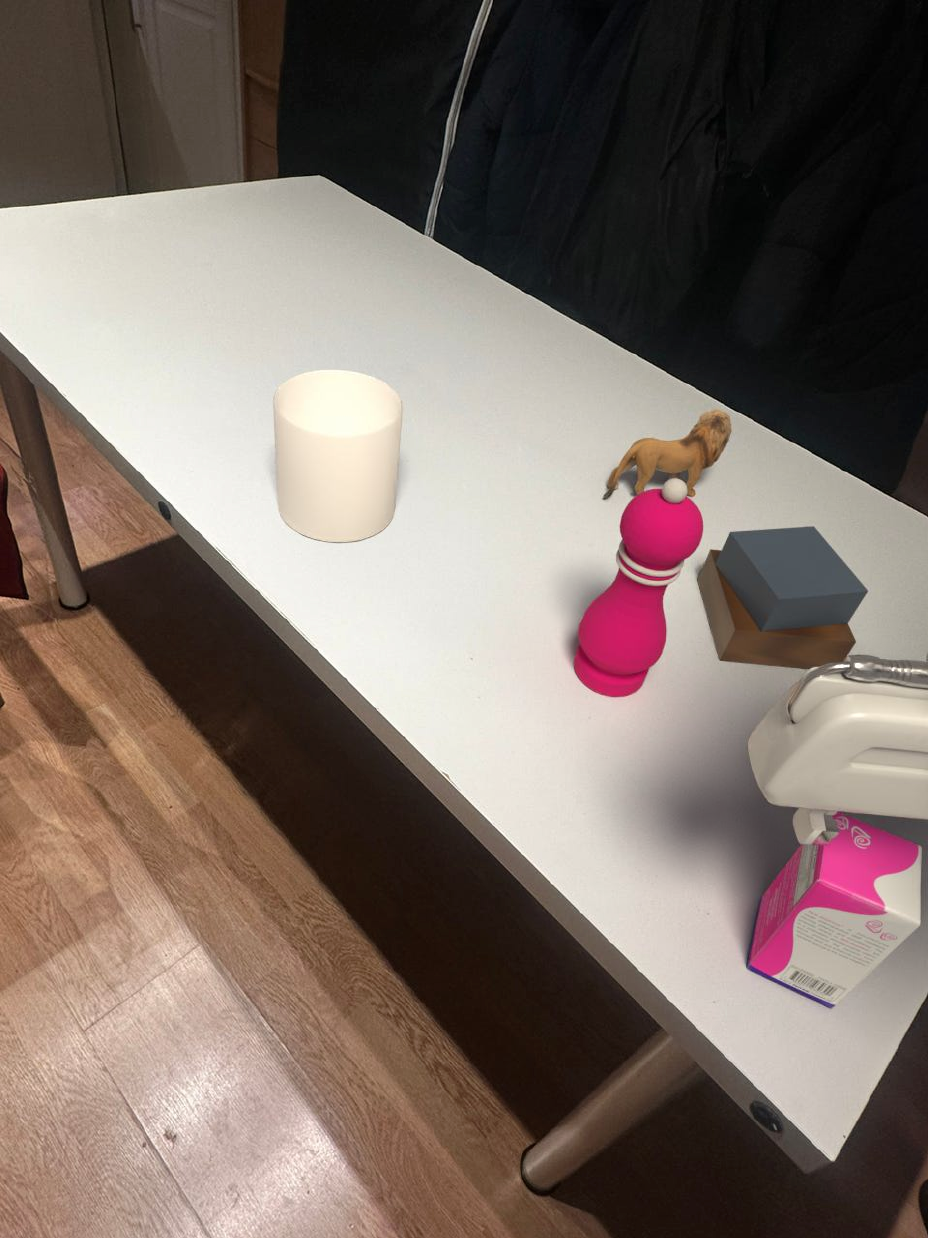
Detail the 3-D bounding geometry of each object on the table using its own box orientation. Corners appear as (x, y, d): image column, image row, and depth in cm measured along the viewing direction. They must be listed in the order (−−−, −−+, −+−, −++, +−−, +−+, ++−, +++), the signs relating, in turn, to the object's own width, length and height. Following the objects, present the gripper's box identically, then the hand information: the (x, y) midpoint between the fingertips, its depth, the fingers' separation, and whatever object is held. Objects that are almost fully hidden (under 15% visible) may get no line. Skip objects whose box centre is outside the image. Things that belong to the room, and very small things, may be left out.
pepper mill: (558, 684, 70) (617, 492, 56) (579, 630, 75) (638, 441, 61) (641, 713, 68) (722, 524, 55) (656, 656, 73) (734, 469, 60)
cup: (298, 553, 77) (295, 444, 69) (263, 482, 85) (257, 376, 76) (412, 530, 82) (423, 426, 74) (370, 465, 89) (376, 363, 81)
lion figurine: (692, 465, 97) (717, 397, 91) (721, 491, 94) (749, 422, 88) (590, 488, 91) (610, 416, 85) (618, 516, 88) (640, 444, 82)
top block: (796, 558, 80) (814, 525, 77) (848, 623, 74) (868, 590, 71) (714, 564, 78) (729, 531, 75) (761, 632, 71) (778, 599, 69)
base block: (803, 591, 83) (819, 560, 80) (836, 672, 75) (856, 642, 72) (697, 579, 82) (710, 548, 79) (719, 660, 74) (735, 629, 71)
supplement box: (841, 932, 56) (927, 845, 49) (832, 1011, 52) (924, 931, 44) (759, 894, 58) (829, 804, 50) (743, 969, 54) (817, 884, 46)
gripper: (842, 711, 33) (719, 878, 42) (1306, 759, 34) (1087, 909, 44) (799, 602, 37) (697, 776, 47) (1211, 649, 39) (1031, 807, 49)
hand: (889, 841), depth 46 cm, fingers open, 8 cm apart
